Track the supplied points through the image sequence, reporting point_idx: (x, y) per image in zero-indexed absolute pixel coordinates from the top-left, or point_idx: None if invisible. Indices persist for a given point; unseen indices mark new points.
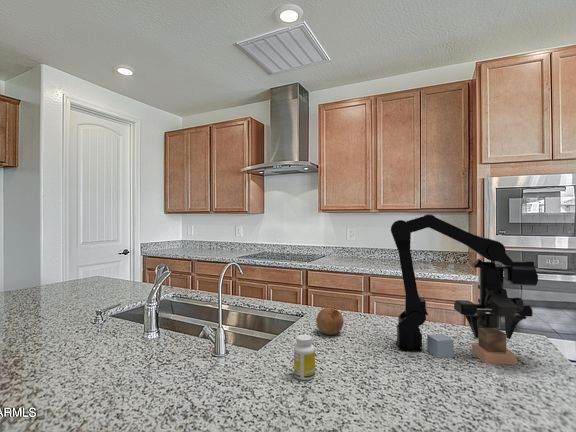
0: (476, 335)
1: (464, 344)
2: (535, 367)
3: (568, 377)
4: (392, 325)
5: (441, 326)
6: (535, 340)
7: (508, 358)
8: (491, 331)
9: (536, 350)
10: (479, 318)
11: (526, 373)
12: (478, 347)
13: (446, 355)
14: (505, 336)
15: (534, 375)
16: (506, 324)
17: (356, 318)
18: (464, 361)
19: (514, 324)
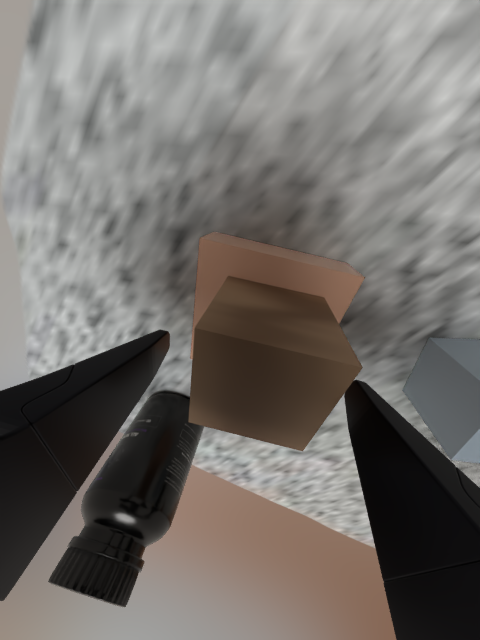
0: (374, 393)
1: None
2: (148, 190)
3: (42, 35)
4: None
5: (250, 477)
6: None
7: (242, 244)
8: (269, 394)
9: (75, 326)
10: (176, 494)
11: (236, 114)
12: None
13: (476, 344)
14: (206, 318)
15: (210, 78)
16: (109, 427)
17: None
18: (430, 292)
19: (32, 396)
